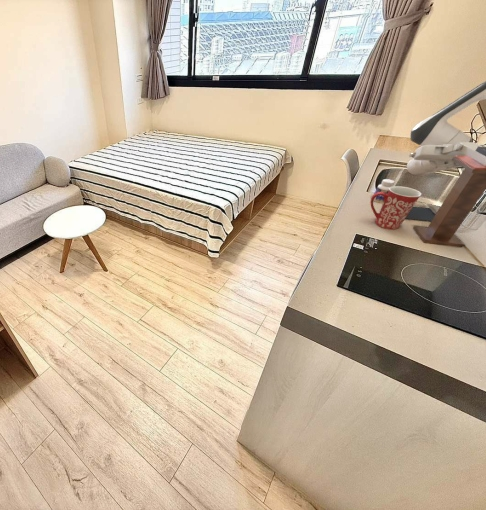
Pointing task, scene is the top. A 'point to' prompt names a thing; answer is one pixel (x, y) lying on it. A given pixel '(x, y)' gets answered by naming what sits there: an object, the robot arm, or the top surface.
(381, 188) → the pill bottle
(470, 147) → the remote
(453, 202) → the shelf stand
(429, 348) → the top surface
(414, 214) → the mat
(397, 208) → the mug
